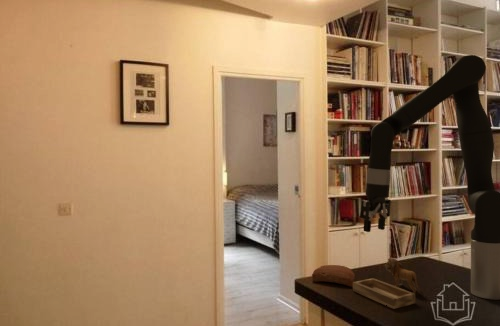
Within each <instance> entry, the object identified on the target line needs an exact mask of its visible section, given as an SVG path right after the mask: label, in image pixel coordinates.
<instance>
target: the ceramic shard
mask: <svg viewBox="0 0 500 326" xmlns="http://www.w3.org/2000/svg"><path fill="white" fill-rule="evenodd" d="M355 277H356V274H355V272H354V271H353V270H352V269H351V268H349V267H347V266H345V265H341V264H327V265H326V264H325V265H321V266H319V267H317V268H315V269H314V270H313V272H312V274H311V281H312V282H313V283H314V282H325V283H336V284H340V285H343V286H348V287H350V288H353V282H355Z"/></svg>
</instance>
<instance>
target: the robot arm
mask: <svg viewBox="0 0 500 326" xmlns="http://www.w3.org/2000/svg"><path fill="white" fill-rule="evenodd" d="M486 66H487V65H486V63H485V60H484V59H483V58H482V57H480V56H478V55H474V54H468V55H464V56H461V57H459V58H458V59H457V60H456V61H454V62H453V63H452V64H451V66H450V67H449V69H448V70H447V71H446V72H445V73H444V74H443V75H441V77H440V78H438V79H437V80H436V81H434V82H433V83H432V84H431V85H429V86H428V87H427V88H424V89H423V90H422V91H420V92H419V93H418V94H416V95H414V96H413V97H411V98H410V99H408V100H407V101H406V102H405V103H403V104H402V105H400V106H399V107H398V108H397V109H395V111H393V113H392V114H390V115H388V116H387V117H386V118H384V119H383V120H381V121H379V122H378V123H376V124H375V125H374V126H373V127H372V128H371V131H370V137H371V138H370V153H369V157H368V165H367V167H368V168H367V172H366V173H367V174H366V181H365V183H366V184H365V195H366V196H365V197H367V198H368V199H367V200H365V199H362V200H361V203H360V204H361V205H360V215H359V218H360V219H363V231H364V232H367V233H370V232H371V231H372V220H373V218H374V216H376V214H377V215H378V223H377V229H378V230H381V231H384V230H385V229H386V219H387V218H389V217H390V216H391V206H392V205H391V202H392V201H391V199H390V198H389V197H390V190H391V189H390V188H391V168H392V167H391V164H392V149H393V145H394V138H395V137H396V136H398V135H399V134H400V133H402V132H403V131H404V130H406V129H407V128H410V127H411V126H413V125H414V124H415V123H417V122H418V121H420V120H421V119H422V118H423V117H425V116H427V114H429V113H430V112H431V111H432V110H434V109H435V108H436V107H437V106H438V105H439V106H440V104H441V103H443V101H445V100H447V99H448V98H449V97H451V96H452V97H453V100H454V105H455V114H456V115H455V116H456V124H457V125H456V126H457V132H458V140H459V146H460V150H461V151H460V152H461V156H462V160H463V165H464V169H465V176H466V188H467V191H466V192H467V204H468V207H469V210H470V211H471V212H472V213H473V214H474V224H473V225H474V226H473V229H471V230H470V293H471V294H472V295H474V296H475V297H478V298H482V299H487V300H494V301H495V300H497V301H498V300H500V191H497V190H496V189H495V185H494V180H493V177H492V167H493V159H494V155H495V142H494V135H493V134H494V133H493V130H492V126H491V122H490V119H489V117H488V115H487V112H486V111H485V109H484V106H483V104H482V101H481V98H480V89H479V82H480V80H482V78H483V77H484V75H485V74H486ZM388 198H389V199H388Z"/></svg>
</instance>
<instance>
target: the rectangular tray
mask: <svg viewBox="0 0 500 326" xmlns="http://www.w3.org/2000/svg"><path fill="white" fill-rule="evenodd" d="M352 292H355V293H357V294H360V295H361V296H363V297H366V298H367V299H368V298H369V299H370V300H373V301H374V302H377V303H379V304H382V305H383V306H386V305H387V306H386V307H388V308H390V309H393V310H395V309H398V308H402V307H407V306H411V305H414V304H416V294H414V293H412V292H413V291H412V292H411V291H408V290H406V289H404V288H400V287H399V286H398V287H396V286H394V284H390V283H387V282H385V281H382V280H379V279H376V278H374V277H373V278H367V279H363V280H357V281H354V282H353V287H352Z"/></svg>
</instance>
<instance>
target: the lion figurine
mask: <svg viewBox="0 0 500 326" xmlns="http://www.w3.org/2000/svg"><path fill="white" fill-rule="evenodd" d="M384 268H385V270H386V271H388V272H389V273H390V274H391V275H392V276H393V277H394V281H395V284H393V286H396V287H398V288H399V286H400V287H401V286H403V284H404V282H407V285H408V287H409V288H410V289H411V290H412V293H414V294H415V295H416V292H417V291H418V293H419V294H420V295H423V296H424V295H425V293H424V292H423V291H421V289H420V287H419V284H418V277H417V274H416V273H415V271H413V270H408V269H405V268H404V266H403V264H402V263H401V262H400V261H398V259H395V258H394V257H393V258H392V257H390V258H387V262H386V263H385V264H384Z"/></svg>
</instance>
